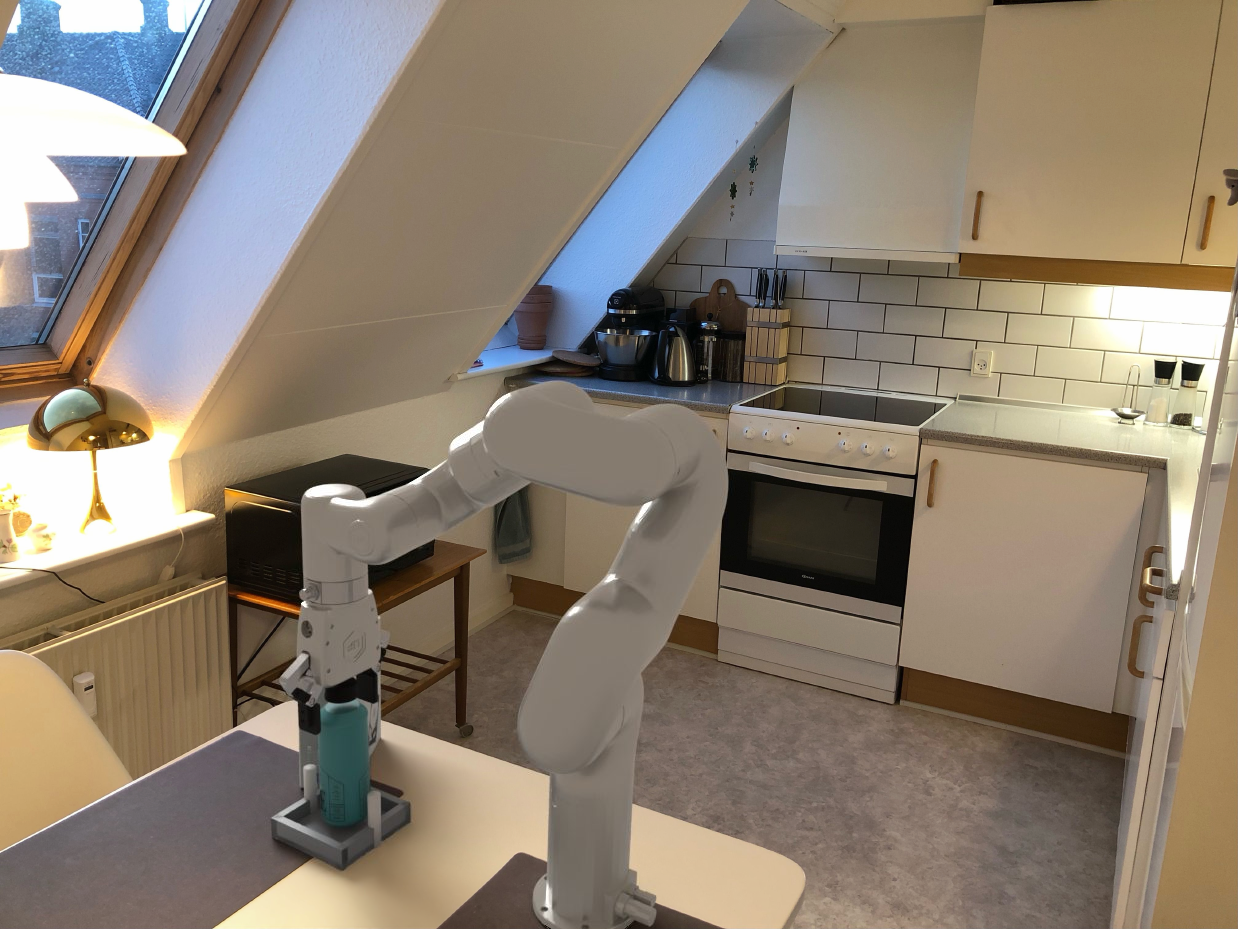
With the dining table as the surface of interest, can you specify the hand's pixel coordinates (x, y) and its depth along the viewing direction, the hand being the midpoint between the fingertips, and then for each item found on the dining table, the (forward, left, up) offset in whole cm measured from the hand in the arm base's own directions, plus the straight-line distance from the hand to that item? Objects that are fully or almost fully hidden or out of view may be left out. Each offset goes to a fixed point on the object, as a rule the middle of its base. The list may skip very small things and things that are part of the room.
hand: (339, 715), depth 123 cm
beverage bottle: (0, 0, -16) cm, 16 cm away
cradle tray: (0, 0, -16) cm, 16 cm away
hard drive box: (+12, -12, -16) cm, 24 cm away
